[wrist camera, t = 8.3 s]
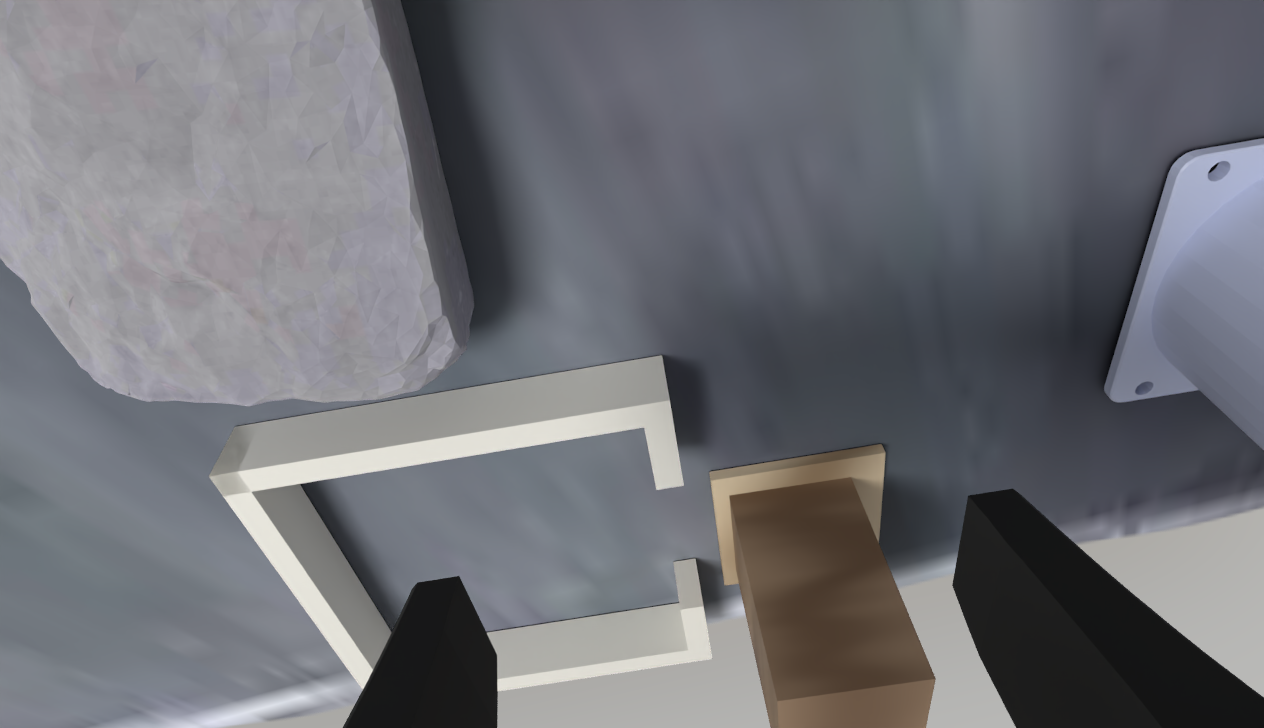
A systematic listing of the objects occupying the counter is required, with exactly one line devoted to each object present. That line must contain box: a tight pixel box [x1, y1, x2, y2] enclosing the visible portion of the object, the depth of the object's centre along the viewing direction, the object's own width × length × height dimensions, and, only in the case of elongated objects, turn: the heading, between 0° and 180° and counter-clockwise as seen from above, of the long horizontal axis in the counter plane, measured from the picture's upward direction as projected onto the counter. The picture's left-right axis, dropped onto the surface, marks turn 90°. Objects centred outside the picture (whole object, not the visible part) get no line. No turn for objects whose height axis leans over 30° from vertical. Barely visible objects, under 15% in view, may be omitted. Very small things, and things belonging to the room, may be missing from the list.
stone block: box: [0, 0, 474, 406], centre depth 16 cm, size 12×5×10 cm
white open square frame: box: [209, 355, 712, 691], centre depth 25 cm, size 13×13×2 cm
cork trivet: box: [709, 444, 886, 585], centre depth 26 cm, size 6×6×1 cm
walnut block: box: [729, 477, 935, 728], centre depth 23 cm, size 4×4×7 cm
